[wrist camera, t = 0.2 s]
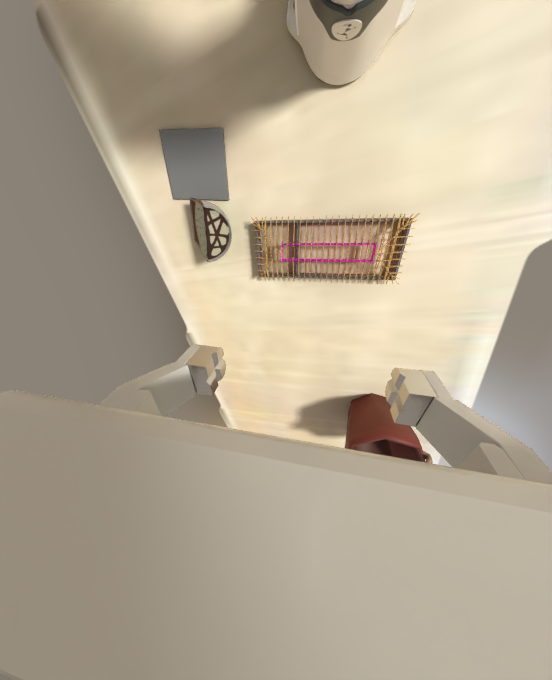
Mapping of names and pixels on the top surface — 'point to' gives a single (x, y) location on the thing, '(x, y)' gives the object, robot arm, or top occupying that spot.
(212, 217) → the food container
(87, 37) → the top surface
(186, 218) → the top surface
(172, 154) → the mat
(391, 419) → the bucket
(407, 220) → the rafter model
